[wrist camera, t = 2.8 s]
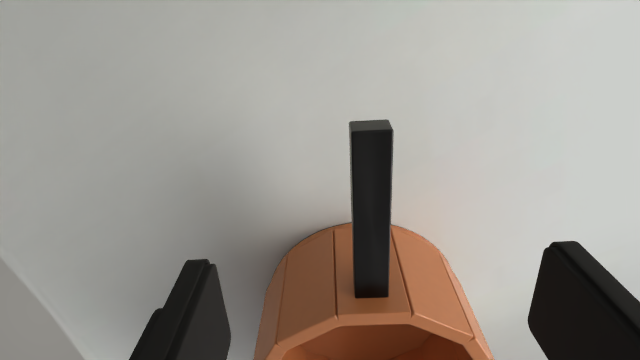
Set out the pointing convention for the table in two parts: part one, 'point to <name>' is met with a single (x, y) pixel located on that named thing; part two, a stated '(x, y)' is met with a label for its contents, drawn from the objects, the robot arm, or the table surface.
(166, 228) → the table surface
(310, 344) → the copper saucepan
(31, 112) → the table surface
